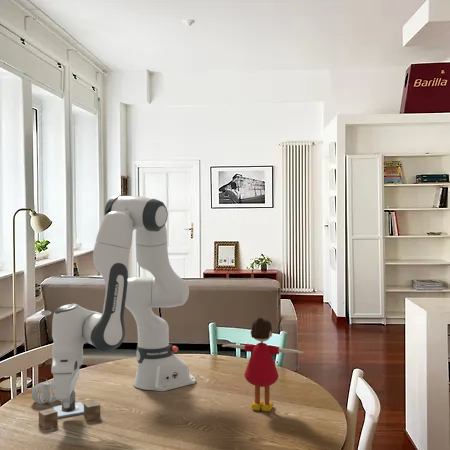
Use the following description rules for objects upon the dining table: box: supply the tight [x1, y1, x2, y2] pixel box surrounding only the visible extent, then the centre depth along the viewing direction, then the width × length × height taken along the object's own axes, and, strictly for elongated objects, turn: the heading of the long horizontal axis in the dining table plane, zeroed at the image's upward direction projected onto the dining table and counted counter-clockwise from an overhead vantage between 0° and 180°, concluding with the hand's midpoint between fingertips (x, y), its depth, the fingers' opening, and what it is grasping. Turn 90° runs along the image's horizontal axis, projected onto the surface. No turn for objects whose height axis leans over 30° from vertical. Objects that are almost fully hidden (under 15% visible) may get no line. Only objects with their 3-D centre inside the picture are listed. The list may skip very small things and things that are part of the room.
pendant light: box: [30, 310, 58, 405], centre depth 176 cm, size 9×9×30 cm
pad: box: [51, 401, 84, 419], centre depth 168 cm, size 9×9×1 cm
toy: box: [221, 317, 304, 413], centre depth 168 cm, size 27×11×30 cm, turn 71°
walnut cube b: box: [38, 407, 59, 430], centre depth 157 cm, size 4×4×4 cm
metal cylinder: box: [61, 390, 76, 412], centre depth 161 cm, size 4×4×5 cm
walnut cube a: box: [83, 400, 101, 421], centre depth 163 cm, size 4×4×4 cm
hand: (68, 403), depth 161 cm, fingers closed on metal cylinder, 4 cm apart
